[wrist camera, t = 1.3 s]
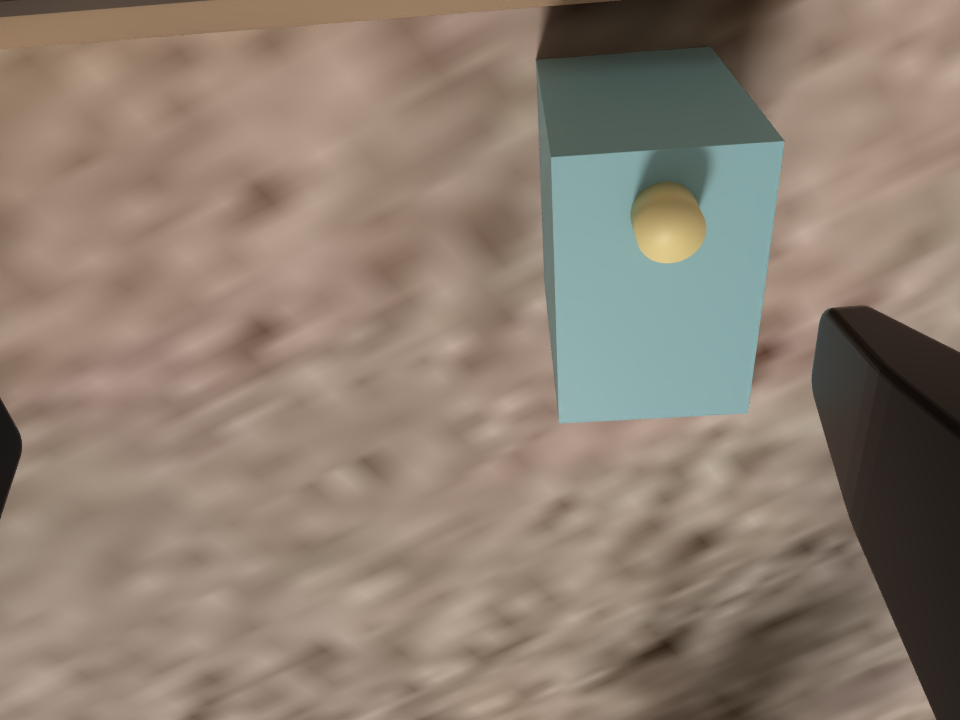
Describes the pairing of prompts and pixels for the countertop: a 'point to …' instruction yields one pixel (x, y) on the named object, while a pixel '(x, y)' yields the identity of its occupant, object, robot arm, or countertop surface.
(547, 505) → the countertop surface
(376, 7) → the board
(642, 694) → the countertop surface
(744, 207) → the teal box with knob
